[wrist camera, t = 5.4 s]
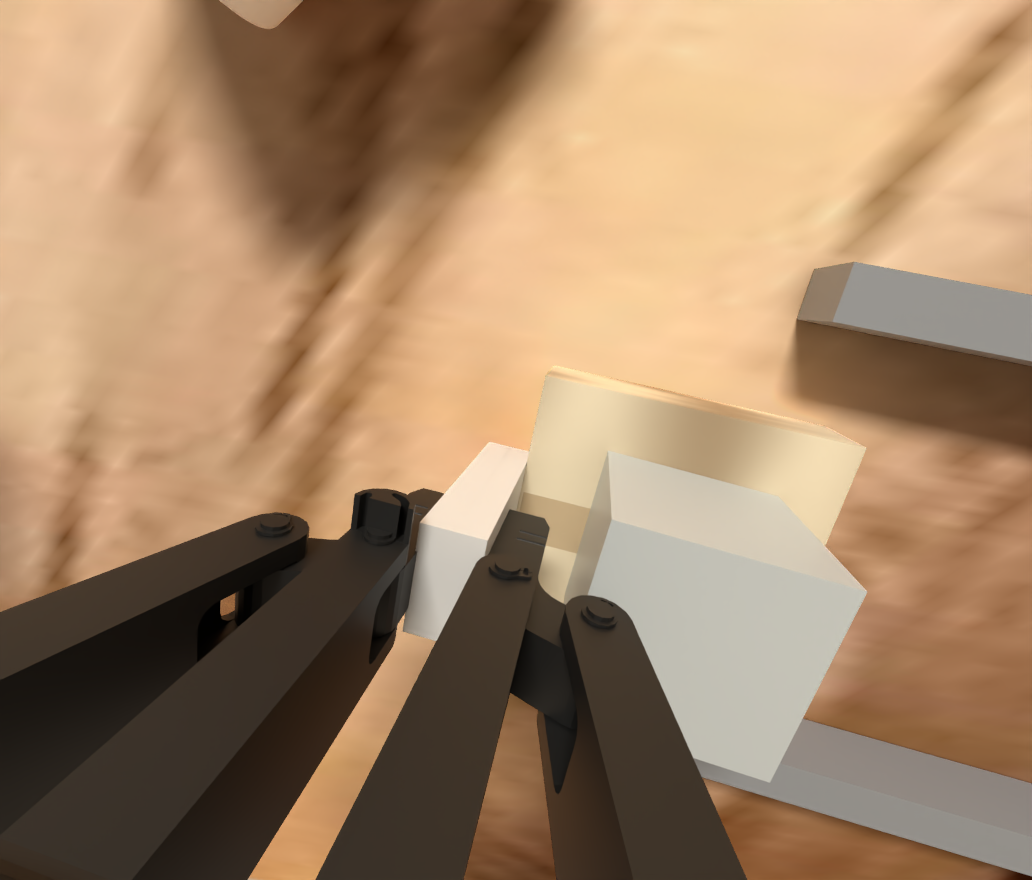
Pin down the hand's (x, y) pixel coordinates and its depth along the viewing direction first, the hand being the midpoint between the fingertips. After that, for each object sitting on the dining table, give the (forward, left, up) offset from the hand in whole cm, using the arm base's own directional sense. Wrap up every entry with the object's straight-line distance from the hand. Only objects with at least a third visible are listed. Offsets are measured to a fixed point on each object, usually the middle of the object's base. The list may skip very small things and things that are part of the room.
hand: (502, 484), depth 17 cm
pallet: (+5, 0, -2) cm, 6 cm away
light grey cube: (+5, 0, +1) cm, 5 cm away
